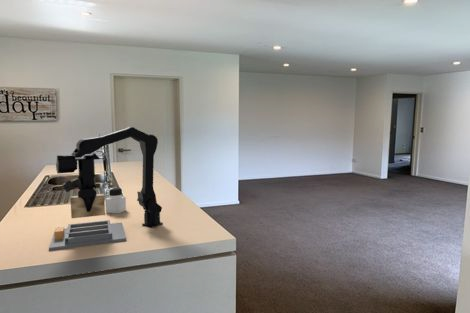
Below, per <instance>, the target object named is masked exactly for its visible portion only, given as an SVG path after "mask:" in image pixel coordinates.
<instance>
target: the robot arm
mask: <svg viewBox="0 0 470 313" xmlns="http://www.w3.org/2000/svg"><path fill="white" fill-rule="evenodd" d="M129 138H131V139H133V140H134V141H136V142H138V143H139V147H140V151H141V153H142V187H141V190H140V191H137V199H136V201H137V202H138V204H139V206H141V207H142V208H143V210H144V214H143V216H144V217H143V221H144V223H142V224H141V225H142V226H143V227H144V226H145V227H148V228H155V227H157V226H160V225H163V222H161V212H162V209H163V206H161V205H160V204H158V203H157V202H158V201H157V196H156V193H155V189H154V167H155V166H154V163H155V162H154V160H155V159H154V158H155V153H156V152H157V148H158V143H159V141H158V137H157V136H155V135H154V134H148V133H146V132H144V131H142V130H139V129H137V128H136V127H133V126H127V127H126V128H123V129H120V130H117V131H113V132H111V133H107V134H104V135H100V136H97V137H96V136H95V137H87V138H86V137H85V138H82V139H79V140H78V141H77V143H76V146H75V149H74V150H73V151H72V153H71V154H69V155H68V154H67V155H66V154H65V155H61V154H59V155H56V162H55V168H56V170H55V171H56V173H57V174H69V173H71V174H72V173H75V171H77V170H78V174H77V177H76V178H72V179H68V180H66V181H65V182H64V183H62V186H63V189H64V191H65V193H68V192H70V191H73V190H75V189H77V188H78V189H79V190H78V191H77V196H78V198H82V199H83V200H84V203H85V206H86V210H87V212H90V210H91V208H92V205H93V202H94V200H95V197H96V194H97V183H96V172H95V170H96V169H95V168H96V167H95V160H100V159H101V158H100V156H98V155H97V154H96V153H95V152H96V151H98V150H100V149H102V148H103V147H105V146H108V145H111V144H113V143H117V142H120V141H122V140H123V141H124V140H126V139H129ZM90 154H91V155H90Z"/></svg>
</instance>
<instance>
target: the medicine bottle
mask: <svg viewBox="0 0 470 313" xmlns="http://www.w3.org/2000/svg"><path fill="white" fill-rule="evenodd" d="M122 192H123V191H122V188H121V187H111V188H109V189H108V195H109V196H108V197H107V198H104V202H105V214H106V213H107V214H115V215H116V214H121V213H122V212H125V211H127V201H126V200H127V199H126V198H127V197H126V196H123V193H122Z"/></svg>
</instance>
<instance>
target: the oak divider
mask: <svg viewBox="0 0 470 313" xmlns="http://www.w3.org/2000/svg"><path fill="white" fill-rule="evenodd" d="M70 213H71V217H70V218H71V219H79V218H90V217H99V216H106V203H105V193H96V197H95V200H94V202H93V205H92V208H91V210H90V212H87V210H86V206H85V203H84V200H83V199H82V198H78V195H72V196H70Z"/></svg>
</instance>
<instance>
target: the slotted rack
mask: <svg viewBox="0 0 470 313" xmlns="http://www.w3.org/2000/svg"><path fill="white" fill-rule="evenodd" d="M124 229H125V228H124V224H123V222H121V221H120V222H114V223H113V222H112V223H111V221H110V220H109V219H107V220H98V221H88V222H81V223H80V222H78V223H69V224H68V225H67V227H66V228H65V227H62V226H61V227H55V229H54V231H53V236H52V238H51V241H50V243H49V246H48V251H56V250H58V251H59V250H64V249H71V248H72V249H73V248H80V247H87V246H95V245H102V244H110V243H117V242H118V243H119V242H126V241H127V236H126V232H125V230H124Z"/></svg>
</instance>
